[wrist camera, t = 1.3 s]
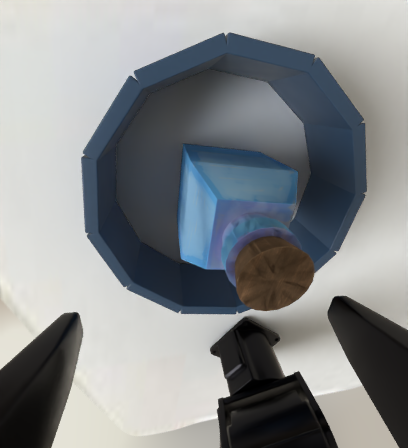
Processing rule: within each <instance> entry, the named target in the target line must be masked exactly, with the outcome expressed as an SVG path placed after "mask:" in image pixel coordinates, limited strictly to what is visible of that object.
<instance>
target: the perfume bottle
mask: <svg viewBox="0 0 408 448" xmlns="http://www.w3.org/2000/svg"><path fill="white" fill-rule="evenodd" d="M297 181H298V171H296V170H294V169H292V168H290V167H288V166H286V165H284V164H282V163H280V162H278V161H276V160H274V159H272V158H271V157H269V156H267V155H265V154H263V153H261V152H254V151H245V150H236V149H227V148H218V147H209V146H200V145H191V144H183V149H182V161H181V173H180V186H179V198H178V210H177V225H178V235H179V245H180V255H181V259H182V260H184V261H187V262H189V263H192V264H194V265H197V266H199V267H202V268H204V269H222V270H225V271H226V274H227V276H228V279H229V281H230V282H231V283H232V284H233V285H234V286H235V287H236V291H237V294H238V296H239V299H240V300H241V301H242V302H243V303H244V304H245V305H246V306H248V307H250V308H252V309H254V310H261V311H270V310H278V309H280V308H283V307H286V306H288V305H290V304H292V303H293V302H295V301H296V300H298V299H299V298H300V297H301V296H302V295H303V294H304V293H305V292H306V291H307V290H308V288H309V286H310V285H311V283H312V281H313V277H314V273H315V269H314V263H313V261H312V259H311V258H310V256H309V255H308V254H307V253H305V252H304V251H302V248H301V243H300V242H299V240H298V239H297V238H296V236H295V235H294V234H293V233H292V232H291V231H290V230H289V229H288V228H289V225H290V222H291V219H292V216H293V213H294V209H295V206H296V197H297Z"/></svg>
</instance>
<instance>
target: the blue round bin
mask: <svg viewBox="0 0 408 448" xmlns="http://www.w3.org/2000/svg"><path fill="white" fill-rule="evenodd" d="M314 57H315V55H314V54H310V53H306V52H302V51H299V50H295V49H291V48H287V47H283V46H280V45H276V44H272V43H268V42H264V41H260V40H257V39H253V38H249V37H245V36H241V35H237V34H234V33H228V34H227V35H226V36H225V35H224V33H221V34H219V35H217V36H214V37H212V38H210V39H207V40H205V41H203V42H200V43H198V44H196V45H194V46H191V47H189V48H187V49H184V50H182V51H180V52H177V53H175V54H173V55H170V56H168V57H166V58H163V59H161V60H159V61H156V62H154V63H152V64H149V65H147V66H145V67H142V68H140V69H138V70H135V71H134V74H135V77H136V79H137V80H136V79H135V78H133V77H132V76H129V77H128V79H127V80H126V82H125V84H124V85H123V87H122V88H121V90H120V92H119V93H118V95H117V97H116V98H115V100H114V101H113V103H112V105H111V106H110V108H109V110H108V111H107V113H106V115H105V116H104V118H103V119H102V121H101V123H100V124H99V126H98V128H97V129H96V131H95V133H94V134H93V136H92V137H91V139H90V141H89V142H88V144H87V146H86V147H85V149H84V151H83V153H84V154H85V155H84V156H83V157H82V158H81V164H82V182H83V201H84V219H85V232H86V233H88V235H87V237H88V239H89V240H90V242H91V243H92V244H93V246H94V247H95V248H96V250H97V251H98V252H99V254H100V255H101V257H102V258H103V259H104V261H105V262H106V263H107V265H108V266H109V268H110V269H111V270H112V272H113V273H114V274H115V276H116V277H117V278H118V280H119V281H120V283H121V284H122V285H123V287H126V286H127V290H129V291H132V292H134V293H136V294H138V295H140V296H142V297H144V298H147V299H149V300H151V301H153V302H155V303H157V304H160V305H162V306H164V307H166V308H168V309H170V310H172V311H175V312H177V313H179V311H180V310H181V314H236V312H238V313H242V312H244V311H247V310H249V309H252V308H250V307H248V306H246V305H245V304H244V303H243V302H242V301H241V300H240V299H239V296H238V294H237V291H236V287H235V286H234V285H233V284H232V283H231V282H230V281H229V279H228V276H227V274H226V271H225V270H222V269H204V268H202V267H199V266H197V265H194V264H179V263H177V262H176V261H174V260H172V259H170V258H169V257H167V256H165V255H163V254H161V253H160V252H158V251H156V250H154V249H153V248H151V247H149V246H147V245H146V244H144V243H142V242H141V241H140V240H139V238H138V236H137V235H136V233H135V231H134V230H133V228H132V226H131V225H130V223H129V221H128V220H127V218H126V216H125V215H124V213H123V211H122V210H121V208H120V206H119V205H118V203H117V201H116V145H117V143H118V142H119V140H120V139H121V137H122V136H123V134H124V133H125V131H126V130H127V128H128V126H129V125H130V123H131V122H132V120H133V119H134V117H135V116H136V114H137V113H138V111H139V110H140V108H141V107H142V105H143V103H144V102H145V100H146V99H147V97H148V96H149V94H150V93H153V92H155V91H157V90H160V89H162V88H164V87H167V86H169V85H171V84H174V83H176V82H178V81H181V80H183V79H186V78H188V77H190V76H193V75H195V74H197V73H200V72H202V71H204V70H207V69H213V70H217V71H221V72H226V73H230V74H235V75H239V76H244V77H248V78H253V79H257V80H261V81H266V82H268V83H269V84H270V85H271V87H272V88H273V89H274V90H275V91H276V92H277V93H278V95H279V96H280V97H281V98H282V99H283V100H284V101H285V103H286V104H287V105H288V106H289V107H290V108H291V109H292V111H293V112H294V113H295V114H296V115H297V116H298V117H299V119H300V120H301V121H302V122H303V123H304V130H305V136H306V143H307V150H308V157H309V164H310V171H311V175H310V177H309V180H308V183H307V186H306V188H305V191H304V194H303V197H302V199H301V202H300V205H299V207H298V210H297V213H296V216H295V218H294V219H293V220H292V221H291V222H290V225H289V228H288V229H289V230H290V231H291V232H292V233H293V234H294V235H295V236H296V238H297V239H298V240H299V242H300V243H301V248H302V251H304V252H305V253H307V254H308V255H309V256H310V258H311V259H312V261H313V263H314V269H315V272H317V271H318V270H319V269H320V268H321V267H322V266H323V265H324V264H326V263H327V262H328V261H329V260H330V259H331V258H332V257H333V256H335V255H336V252H335V251H339V249H340V247H341V245H342V243H343V241H344V239H345V237H346V235H347V233H348V231H349V228H350V226H351V224H352V222H353V220H354V218H355V216H356V214H357V212H358V210H359V208H360V206H361V204H362V202H363V200H364V198H365V194H363V193H364V192H366V191H367V183H366V143H365V123H361V122H362V121H363V120H364V119H363V118H362V116H361V115H360V113H359V112H358V111H357V109H356V108H355V107H354V105H353V104H352V102H351V101H350V100H349V98H348V97H347V95H346V94H345V93H344V91H343V90H342V89H341V87H340V86H339V84H338V83H337V82H336V80H335V79H334V78H333V76H332V75H331V73H330V72H329V71H328V69H327V68H326V66H325V65H324V64H323V62H322V61H321V60H320V58H315V59H314Z"/></svg>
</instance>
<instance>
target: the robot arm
mask: <svg viewBox="0 0 408 448" xmlns="http://www.w3.org/2000/svg"><path fill="white" fill-rule="evenodd" d="M328 319H329V321H330V323H331V325H332V327H333V329H334V331H335V333H336V336H337V338H338V340H339V342H340V344H341V346H342V348H343V350H344V352H345V354H346V356H347V358H348V360H349V362H350V364H351V366H352V367H353V369H354V371H355V373H356V374H357V376H358V378H359V379H360V381H361V383H362V385H363V386H364V388H365V390H366V391H367V393H368V395H369V396H370V398H371V400H372V402H373V403H374V405H375V407H376V409H377V410H378V412H379V414H380V415H381V417H382V419H383V421H384V422H385V424H386V425H387V427H388V429H389V431H390V432H391V434H392V436H393V437H394V439H395V441H396V443H397V445H398V446H399V448H408V330H407V329H405V328H403V327H401V326H399V325H398V324H396V323H394V322H392V321H390V320H389V319H387V318H385V317H383V316H381V315H380V314H378V313H376V312H374V311H372V310H371V309H369V308H367V307H365V306H363V305H362V304H360V303H358V302H356V301H354V300H353V299H351V298H349V297H347V296H336V297H334V298H333V300H332V302H331V305H330V307H329V310H328ZM82 338H83V328H82V324H81V319H80V315H79V313H77V312H72V313H64V314H62V315H61V316H60V317H59V318H58V319H57V320H55V321H54V322H53V323H52V324H51V325H50V326H49V327H48V328H47V329H45V330H44V331H43V332H42V333H41V334H40V335H39V336H38V337H36V338H35V339H34V340H33V341H32V342H31V343H30V344H29V345H28V346H27V347H25V348H24V349H23V350H22V351H21V352H20V353H19V354H17V355H16V356H15V357H14V358H13V359H12V360H11V361H10V362H9V363H7V364H6V365H5V366H4V367H3V368H2V369H1V370H0V448H51V447H52V443H53V441H54V438H55V435H56V432H57V429H58V426H59V423H60V420H61V417H62V414H63V411H64V408H65V405H66V402H67V399H68V396H69V393H70V389H71V386H72V382H73V378H74V373H75V369H76V364H77V360H78V356H79V351H80V347H81V342H82ZM279 341H280V337H279V335H278V334H276V333H274V332H272V331H271V330H269V329H267V328H265V327H263V326H261V325H259V324H257V323H255V322H253V321H252V320H250V319H248V318H243V319H242V320H240V321H239V322H238V323H237V324H236V325H235V326H234V327H233V328H232V329H231V330H230V331H229V332H227V333H226V334H225V335H224V336H223V337H222V338H221V339H220V340H219V341H218V342H217V343H216V344H214V345H213V346H212V347H211V348H210V352H211V354H213V355H215V356H217V357H220V358H221V363H222V367H223V372H224V377H225V378H226V379H227V383H228V388H229V392H230V396H229V397H226V398H220V399H218V404H219V408H218V409H217V414H218V420H219V426H220V427H219V428H220V448H338V446H337V444H336V441H335V438H334V436H333V434H332V431H331V430H330V427H329V425H328V423H327V421H326V419H325V417H324V415H323V413H322V411H321V409H320V408H319V405H318V404H317V402H316V401H315V399H314V397H313V395H312V393H311V391H310V390H309V388H308V386H307V384H306V383H305V381H304V379H303V377H302V376H301V374H300V372H299V371H298V372H295V373H294V374H292V375H290V376H287V377H285V375H284V373H283V371H282V368H281V366H280V364H279V362H278V359H277V357H276V355H275V352H274V350H273V348H272V347H273V346H274V345H275V344H276V343H277V342H279Z"/></svg>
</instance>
